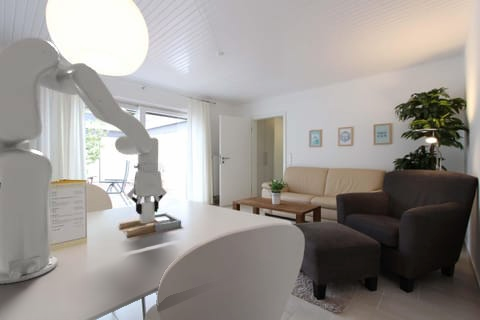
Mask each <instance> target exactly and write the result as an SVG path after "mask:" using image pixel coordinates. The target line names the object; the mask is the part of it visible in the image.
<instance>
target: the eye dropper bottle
mask: <svg viewBox="0 0 480 320" xmlns="http://www.w3.org/2000/svg"><path fill="white" fill-rule="evenodd" d="M143 198H144V199H143V202H140V204H141V214H139V220H140V223H142V224H144V223H150V222H153V221H154V220H155V215H156V212H155V203H154V201H152V200H151V198H152V196H147V197H143Z"/></svg>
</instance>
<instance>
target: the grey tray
mask: <svg viewBox="0 0 480 320" xmlns="http://www.w3.org/2000/svg"><path fill="white" fill-rule="evenodd" d="M163 216H166V217H167V218H169V219H170V222H168V223H162V224H157V225H155V232H159V231H163V230H168V229H173V228H177V227H181V226H182V220H181V219H179V218H177V217H175V216H172V215H171V214H169V213H167V212H165V213H158V214H155V218H157V217H163Z"/></svg>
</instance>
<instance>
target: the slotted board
mask: <svg viewBox="0 0 480 320" xmlns="http://www.w3.org/2000/svg"><path fill="white" fill-rule="evenodd" d="M117 227H118V228H119V229H120V230H121V232H123V233H124V234H125V236H127V238H128V239H129V240H134V239H138V238H139V239H140V238H145V237H148V236H149V237H150V236H152V235H153V236H154V235H157V234H163V233H166V232H171V231H176V230H180V229H184V228H185V227H183V226H182V225H181V227H177V228H173V229H168V230H163V231H159V232H155V225H154V224H153V222H150V223H144V224H142V223H140V219H135V220H128V221H123V222H119V225H117Z"/></svg>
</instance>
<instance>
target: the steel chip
mask: <svg viewBox="0 0 480 320" xmlns="http://www.w3.org/2000/svg"><path fill="white" fill-rule="evenodd" d="M168 222H170V219H169V218H167V217H166V216H163V217H157V218H155V220H154V221H153V224H154V225H157V224H162V223H168Z"/></svg>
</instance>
